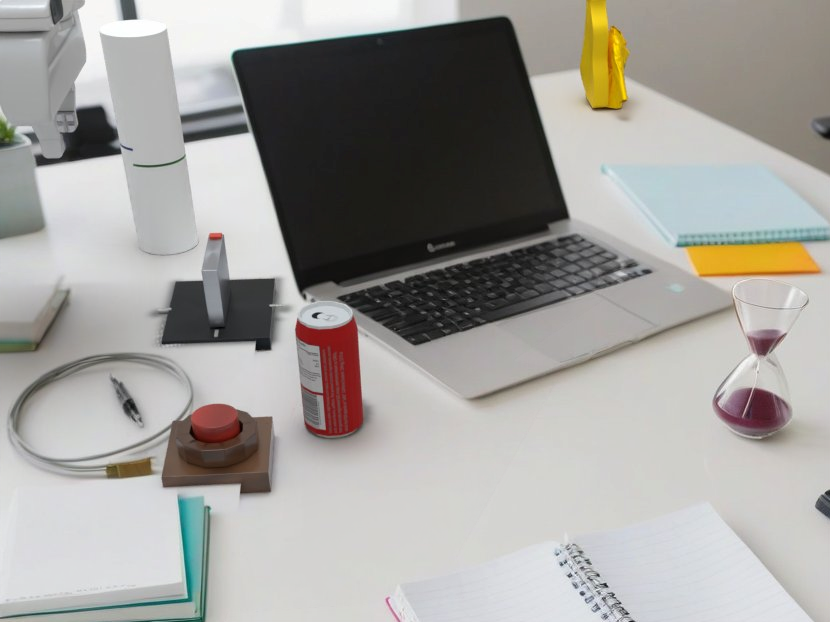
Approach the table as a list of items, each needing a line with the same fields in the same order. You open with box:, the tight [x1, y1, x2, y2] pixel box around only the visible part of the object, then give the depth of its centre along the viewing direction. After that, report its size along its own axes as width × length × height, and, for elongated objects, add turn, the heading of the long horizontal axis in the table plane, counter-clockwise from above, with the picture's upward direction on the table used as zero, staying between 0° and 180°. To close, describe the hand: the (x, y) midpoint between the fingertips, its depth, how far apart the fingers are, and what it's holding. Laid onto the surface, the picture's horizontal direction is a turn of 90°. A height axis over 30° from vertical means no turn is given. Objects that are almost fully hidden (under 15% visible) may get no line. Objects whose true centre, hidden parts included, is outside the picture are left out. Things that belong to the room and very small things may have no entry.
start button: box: [191, 403, 240, 443], centre depth 101 cm, size 4×4×2 cm
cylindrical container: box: [98, 19, 199, 256], centre depth 134 cm, size 7×7×25 cm
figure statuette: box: [579, 0, 631, 110], centre depth 182 cm, size 18×8×22 cm, turn 8°
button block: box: [160, 408, 276, 495], centre depth 103 cm, size 9×9×4 cm
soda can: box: [294, 300, 364, 439], centre depth 106 cm, size 6×6×12 cm
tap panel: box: [157, 278, 284, 352], centre depth 125 cm, size 14×13×2 cm
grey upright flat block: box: [201, 232, 231, 327], centre depth 123 cm, size 9×2×7 cm, turn 7°
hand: (61, 142), depth 109 cm, fingers open, 5 cm apart
